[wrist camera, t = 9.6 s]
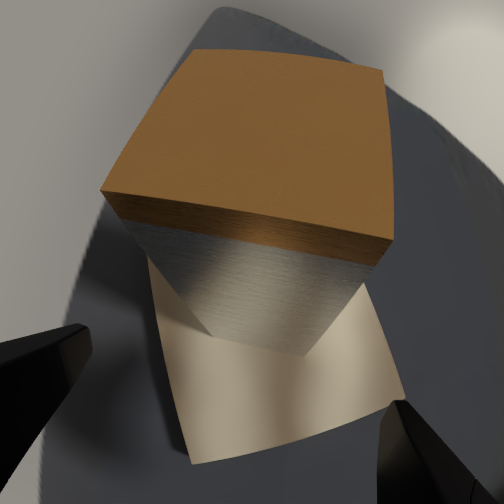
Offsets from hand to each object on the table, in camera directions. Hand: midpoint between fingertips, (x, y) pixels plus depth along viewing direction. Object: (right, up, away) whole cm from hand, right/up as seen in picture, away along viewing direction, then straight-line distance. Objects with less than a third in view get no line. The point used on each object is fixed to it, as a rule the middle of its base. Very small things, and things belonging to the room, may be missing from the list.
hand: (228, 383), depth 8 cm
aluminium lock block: (+2, +1, +10) cm, 10 cm away
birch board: (+1, -1, +11) cm, 11 cm away
